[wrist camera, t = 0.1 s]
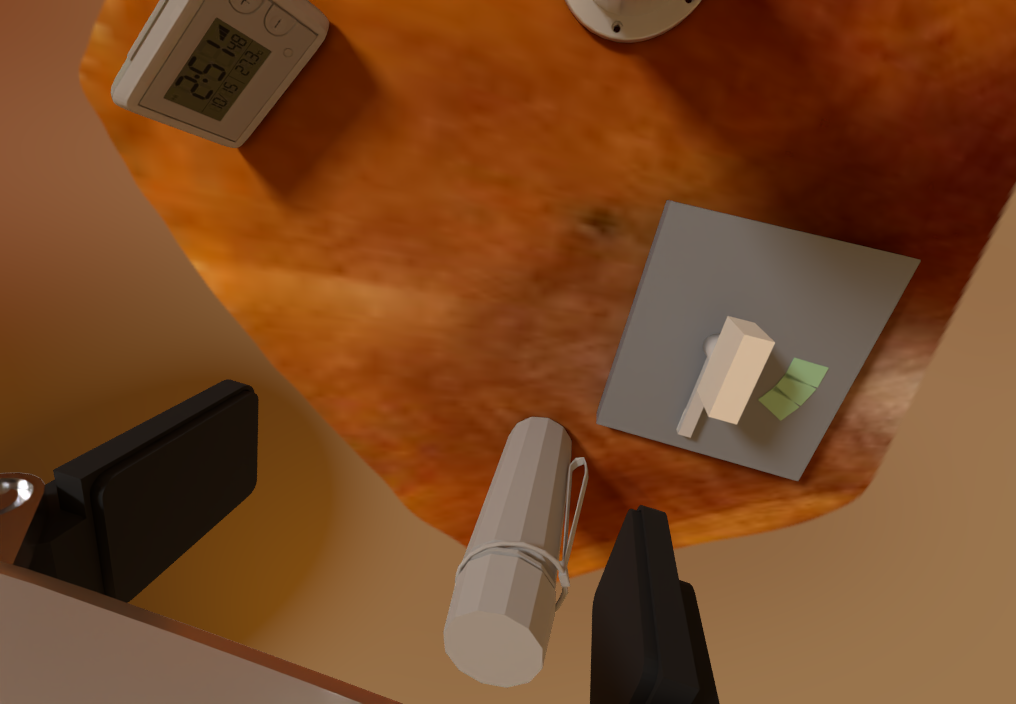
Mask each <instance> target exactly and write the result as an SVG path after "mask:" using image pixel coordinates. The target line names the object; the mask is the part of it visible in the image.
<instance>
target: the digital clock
mask: <svg viewBox="0 0 1016 704" xmlns="http://www.w3.org/2000/svg"><path fill="white" fill-rule="evenodd" d="M328 29H329V21H328V19H327V18H326V16H325V15H324V14H323V13H322V12H321V11H320V10H319V9H318V8H316V7H315V6H314V5H313V4H311V3H310V2H309V1H308V0H160V1H159V3H158V4H157V6H156V8H155V9H154V11H153V13H152V14H151V16H150V18H149V19H148V21H147V23H146V24H145V26H144V28H143V29H142V31H141V33H140V34H139V36H138V38H137V39H136V41H135V43H134V44H133V46H132V48H131V49H130V51H129V53H128V54H127V56H128V57H127V59H126V61H125V63H124V64H123V66H122V68H121V69H120V71H119V73H118V75H117V76H116V78H115V80H114V82H113V85H112V88H111V95H112V99H113V101H114V103H115V104H116V105H118V106H120V107H122V108H124V109H126V110H129V111H131V112H134V113H136V114H139V115H142V116H144V117H147V118H150V119H153V120H155V121H158V122H161V123H163V124H166V125H169V126H172V127H174V128H177V129H180V130H183V131H185V132H188V133H191V134H194V135H196V136H199V137H202V138H205V139H207V140H210V141H213V142H215V143H218V144H221V145H224V146H227V147H232V148H238V147H240V146H241V145H243V143H244V142H245V141H246V140H247V139H248V138H249V136H250V135H251V134H252V133H253V131H254V130H255V129H256V128H257V126H258V125H259V124H260V123H261V121H262V120H263V119H264V117H265V116H266V115H267V114H268V112H269V111H270V110H271V108H272V107H273V106H274V105H275V103H276V102H277V101H278V100H279V98H280V97H281V96H282V94H283V93H284V92H285V91H286V89H287V88H288V87H289V85H290V84H291V83H292V82H293V80H294V79H295V78H296V76H297V75H298V74H299V73H300V71H301V70H302V69H303V68H304V66H305V65H306V64H307V62H308V61H309V60H310V59H311V57H312V56H313V55H314V53H315V52H316V51H317V49H318V48H319V47H320V45H321V44H322V42H323V41H324V39H325V37H326V35H327V32H328Z"/></svg>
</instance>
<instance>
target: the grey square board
mask: <svg viewBox="0 0 1016 704" xmlns="http://www.w3.org/2000/svg"><path fill="white" fill-rule="evenodd" d="M920 261H921V260H919V259H915V258H912V257H908V256H904V255H900V254H895V253H891V252H887V251H883V250H878V249H874V248H870V247H865V246H861V245H857V244H853V243H848V242H844V241H840V240H836V239H831V238H827V237H823V236H819V235H814V234H810V233H806V232H802V231H797V230H793V229H789V228H784V227H780V226H776V225H772V224H767V223H763V222H759V221H755V220H750V219H746V218H742V217H738V216H733V215H729V214H725V213H720V212H716V211H712V210H708V209H703V208H699V207H695V206H691V205H686V204H682V203H678V202H674V201H669V200H667V201H666V204H665V207H664V210H663V213H662V216H661V220H660V223H659V226H658V229H657V232H656V235H655V238H654V241H653V244H652V247H651V250H650V253H649V256H648V259H647V262H646V265H645V268H644V271H643V274H642V277H641V280H640V283H639V286H638V289H637V292H636V295H635V298H634V301H633V304H632V307H631V310H630V313H629V316H628V319H627V323H626V326H625V329H624V332H623V335H622V338H621V341H620V344H619V347H618V350H617V353H616V356H615V359H614V362H613V365H612V368H611V371H610V374H609V377H608V380H607V383H606V386H605V389H604V392H603V395H602V398H601V401H600V404H599V407H598V410H597V424H599V425H603V426H606V427H610V428H613V429H617V430H620V431H624V432H627V433H631V434H634V435H638V436H641V437H645V438H648V439H652V440H655V441H659V442H662V443H666V444H669V445H673V446H676V447H680V448H683V449H687V450H690V451H694V452H697V453H701V454H704V455H708V456H711V457H715V458H718V459H722V460H725V461H729V462H732V463H736V464H739V465H743V466H746V467H750V468H753V469H757V470H760V471H764V472H767V473H771V474H774V475H778V476H781V477H785V478H788V479H792V480H795V481H799V479H800V477H801V475H802V474H803V472H804V470H805V468H806V466H807V465H808V463H809V461H810V459H811V457H812V456H813V454H814V452H815V450H816V448H817V447H818V445H819V443H820V441H821V439H822V438H823V436H824V434H825V432H826V430H827V429H828V427H829V425H830V423H831V421H832V420H833V418H834V416H835V414H836V412H837V411H838V409H839V407H840V405H841V403H842V402H843V400H844V398H845V396H846V394H847V393H848V391H849V389H850V387H851V385H852V384H853V382H854V380H855V378H856V377H857V375H858V373H859V371H860V369H861V368H862V366H863V364H864V362H865V360H866V359H867V357H868V355H869V353H870V351H871V350H872V348H873V346H874V344H875V342H876V341H877V339H878V337H879V335H880V333H881V332H882V330H883V328H884V326H885V324H886V323H887V321H888V319H889V317H890V315H891V314H892V312H893V310H894V308H895V306H896V305H897V303H898V301H899V299H900V297H901V296H902V294H903V292H904V290H905V288H906V287H907V285H908V283H909V281H910V279H911V278H912V276H913V274H914V272H915V270H916V269H917V267H918V265H919V263H920ZM727 316H730V317H734V318H738V319H742V320H746V321H750V322H754V323H756V324H757V325H758V326H759V327H760V328H761V329H762V330H763V331H764V332H765V333H766V334H767V335H768V336H769V337H770V338H771V339H772V340H773V341H774V342H775V344H774V346H773V348H772V351H771V353H770V355H769V357H768V359H767V361H766V363H765V365H764V368H763V370H762V372H761V374H760V376H759V378H758V380H757V383H756V385H755V387H754V389H753V391H752V393H751V395H750V398H749V400H748V402H747V404H746V406H745V408H744V410H743V413H742V415H741V417H740V419H739V421H738V423H737V424H733V423H729V422H726V421H722V420H719V419H715V418H711V417H708V415H707V412H706V410H705V408H704V407H703V410H702V412H701V414H700V417H699V419H698V421H697V424H696V426H695V428H694V431H693V433H692V435H691V438H689V437H686V436H682V435H679V434H678V433H677V428H678V426H679V423H680V421H681V419H682V416H683V414H684V411H685V409H686V407H687V404H688V402H689V399H690V397H691V394H692V392H693V390H694V387H695V385H696V382H697V380H698V377H699V375H700V373H701V370H702V368H703V365H704V363H705V360H706V358H707V356H706V354H705V353H704V351H703V343H704V341H705V339H706V338H707V337H708V336H710V335H712V334H716V333H721V331H722V328H723V326H724V323H725V321H726V319H727Z"/></svg>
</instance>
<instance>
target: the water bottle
mask: <svg viewBox="0 0 1016 704" xmlns="http://www.w3.org/2000/svg"><path fill="white" fill-rule="evenodd" d="M571 447H572V440H571V439H570V437H569V435H568V434H567V432H566V430H565V429H564V427H563V426H561V425H559V424H558V423H556V422H554V421H553V420H551V419H549V418H540V417H530V418H528V419H526V420H523V421H521V422H519V423H517V424H516V426H515V427H514V429H513V430H512V432H511V433H510V435H509V437H508V440H507V442H506V445H505V448H504V450H503V453H502V456H501V458H500V461H499V464H498V467H497V469H496V472H495V475H494V477H493V480H492V483H491V485H490V488H489V491H488V494H487V496H486V499H485V502H484V504H483V507H482V510H481V512H480V515H479V518H478V520H477V523H476V526H475V529H474V531H473V534H472V537H471V539H470V542H469V545H468V547H467V550H466V553H465V556H464V558H463V561H462V562H461V564H460V565H459V566H458V570H457V573H456V578H455V588H454V592H453V596H452V600H451V604H450V608H449V612H448V616H447V620H446V624H445V629H444V643H445V651H446V653H447V655H448V656H449V657H450V658H451V660H452V661H453V663H454V664H455V665H456V666H457V668H458V669H459V670H460V671H462V672H464V673H465V674H467V675H469V676H470V677H472V678H474V679H476V680H477V681H479V682H481V683H485V684H491V685H496V686H501V687H511V686H515V685H520V684H524V683H529V682H530V681H531V680H532V679H533V678H534V677H535V676H536V674H537V673H538V672H539V671H540V670H541V669H542V668H543V663H544V659H545V655H546V650H547V646H548V641H549V637H550V633H551V629H552V624H553V620H554V616H555V612H556V611H557V610H558V609H559V608H560V606H561V604H562V602H563V601H564V599H565V597H566V595H567V594H568V586H570V584H569V576H568V569H567V564H568V560H569V556H570V552H571V548H572V544H573V540H574V536H575V532H576V527H577V523H578V519H579V515H580V511H581V507H582V503H583V499H584V494H585V490H586V486H587V482H588V468H587V464H586V460H585V459H584V457H580V458H575V459H574V460H573V461H572V463H571V464H570V462H571ZM583 464H584V465H585V475H584V479H583V483H582V487H581V491H580V495H579V499H578V503H577V508H576V512H575V516H574V520H573V524H572V528H571V532H570V536H569V541H568V545H567V538H568V524H569V511H570V497H571V483H572V471H573V470H574V469H576V468H577V467H578V466H580V465H583ZM566 495H567V497H566ZM565 503H566V513H565V529H564V545H563V559H562V561H560V562H559V553H560V545H561V537H562V528H563V520H564V512H565ZM557 570H558V571H559V579H560V582H561V586H562V587H563V588H562V593H561V596H560V598H559V600H558V601H557V603H556V604H555V602H556V601H555V600H556V591H555V586H556V578H557Z"/></svg>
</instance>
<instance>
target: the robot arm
mask: <svg viewBox="0 0 1016 704" xmlns="http://www.w3.org/2000/svg"><path fill="white" fill-rule="evenodd" d="M701 1H702V0H692V2H691V3H686V1H685V0H565V2H566V4H567V6H568V8H569V10H570V11H571V12H572V14H573V15H574V16H575V18H576V19H577V20H578V21H579V22H580V23H581V24H582V25H583V26H584V27H585V28H587V29H588V30H589V31H590V32H592V33H594V34H596V35H598V36H600V37H601V38H603V39H607V40H611V41H615V42H625V43H634V42H640V41H645V40H649V39H652V38H654V37H657V36H659V35H662V34H664V33H666V32H667V31H669V30H670V29H672V28H674V27H675V26H677V25H678V24H680V23H681V22H682V21H683V20H684V19H685V18H686V17H687V16H688V15H690V14H691V13H692V12H693V11H694V9H695V8H696V7H697V6H698V4H699V3H700V2H701ZM615 27H619V28H620V31H619V32H618V33H615V32H614V28H615ZM257 443H258V396H257V394H255V393H254V390H253V388H252V387H251V386H249V385H246V384H243V383H240V382H236V381H233V380H224V381H222V382H220V383H218V384H216V385H214V386H212V387H210V388H208V389H207V390H205V391H203V392H201V393H199V394H197V395H195V396H193V397H191V398H189V399H187V400H185V401H184V402H182V403H180V404H178V405H176V406H174V407H172V408H170V409H169V410H166V411H165V412H163V413H161V414H159V415H157V416H155V417H153V418H152V419H149V420H147V421H145V422H144V423H142V424H140V425H138V426H136V427H134V428H132V429H130V430H128V431H126V432H125V433H123V434H121V435H119V436H117V437H115V438H113V439H111V440H109V441H108V442H105V443H104V444H102V445H100V446H98V447H96V448H94V449H92V450H90V451H88V452H86V453H85V454H83V455H81V456H79V457H77V458H75V459H73V460H71V461H69V462H67V463H65V464H64V465H62V466H60V467H58V468H56V469H54V470H53V471H54V477H55V480H53V481H51V482H50V483H48V484H46V485H45V484H44V482H43V481H42V480H41V479H40V478H38V477H36V476H34V475H32V474H25V473H1V474H0V704H402V703H399V702H397V701H394V700H391V699H389V698H386V697H383V696H381V695H378V694H375V693H372V692H370V691H367V690H365V689H362V688H359V687H357V686H354V685H351V684H348V683H346V682H343V681H340V680H337V679H335V678H332V677H329V676H327V675H324V674H321V673H319V672H316V671H313V670H310V669H307V668H305V667H302V666H299V665H297V664H294V663H291V662H288V661H286V660H283V659H280V658H278V657H275V656H272V655H269V654H267V653H264V652H261V651H258V650H256V649H253V648H250V647H247V646H245V645H242V644H239V643H236V642H234V641H231V640H228V639H225V638H223V637H220V636H217V635H214V634H212V633H209V632H206V631H203V630H201V629H198V628H195V627H192V626H190V625H187V624H184V623H181V622H178V621H176V620H173V619H170V618H167V617H164V616H161V615H159V614H156V613H153V612H150V611H148V610H145V609H142V608H139V607H136V606H134V605H131V604H128V603H127V602H129V601H130V600H132V599H133V598H134V597H135V596H136V595H137V594H139V593H140V592H141V591H142V590H143V589H144V588H145V587H147V586H148V585H149V584H150V583H151V582H152V581H153V580H154V579H156V578H157V577H158V576H159V575H160V574H161V573H162V572H163V571H165V570H166V569H167V568H168V567H169V566H170V565H171V564H172V563H174V561H176V560H177V559H178V558H179V557H180V556H182V554H183V553H185V552H186V551H187V550H188V549H189V548H190V547H192V545H194V544H195V543H196V542H197V541H198V540H200V539H201V538H202V537H203V536H204V535H205V534H206V533H207V532H209V531H210V530H211V529H212V528H213V527H214V526H215V525H216V524H217V523H219V522H220V521H221V520H222V519H223V518H224V517H225V516H227V514H229V513H230V512H231V511H232V510H233V509H234V508H236V507H237V506H238V505H239V504H240V503H241V502H242V501H243V500H245V499H246V498H247V497H248V496H249V495H250V494H251V493H252V491H253V490H254V488H255V485H256V482H257V445H258V444H257ZM590 688H591V689H590V704H719V699H718V695H717V691H716V686H715V681H714V677H713V672H712V668H711V663H710V659H709V654H708V650H707V645H706V641H705V636H704V632H703V627H702V623H701V618H700V613H699V609H698V605H697V600H696V595H695V592H694V589H693V587H692V585H691V584H690V583H687V582H684V581H681V580H679V578H678V573H677V567H676V562H675V557H674V551H673V546H672V541H671V535H670V530H669V525H668V519H667V515H666V513H665V512H662V511H659V510H656V509H652V508H649V507H646V506H643V505H640V506H639V507H638V509H637V510H634V509H629V511H628V513H627V515H626V517H625V520H624V522H623V525H622V527H621V530H620V532H619V535H618V537H617V540H616V542H615V545H614V547H613V550H612V552H611V555H610V557H609V560H608V562H607V565H606V567H605V570H604V572H603V575H602V577H601V580H600V582H599V585H598V587H597V590H596V593H595V596H594V601H593V609H592V646H591V685H590Z"/></svg>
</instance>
